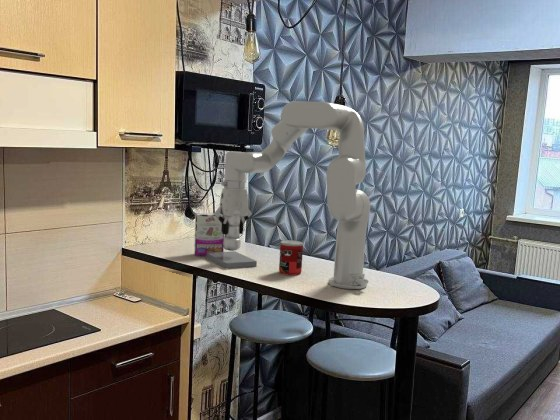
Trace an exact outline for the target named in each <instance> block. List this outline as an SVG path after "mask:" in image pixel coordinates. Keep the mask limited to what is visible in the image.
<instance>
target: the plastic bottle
mask: <svg viewBox="0 0 560 420" xmlns="http://www.w3.org/2000/svg"><path fill="white" fill-rule="evenodd" d="M233 215H234V216H232V217H228V220H227V224H228V231H227V235H225V234H224V240H223V247H224V250H226V251H228V252H231V251H238V250H239V249H241V245H242V243H241V236H240V235H241V234H240V220H241V216H239V215H240V212H239V211H238V210H235V211H234V212H233Z"/></svg>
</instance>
